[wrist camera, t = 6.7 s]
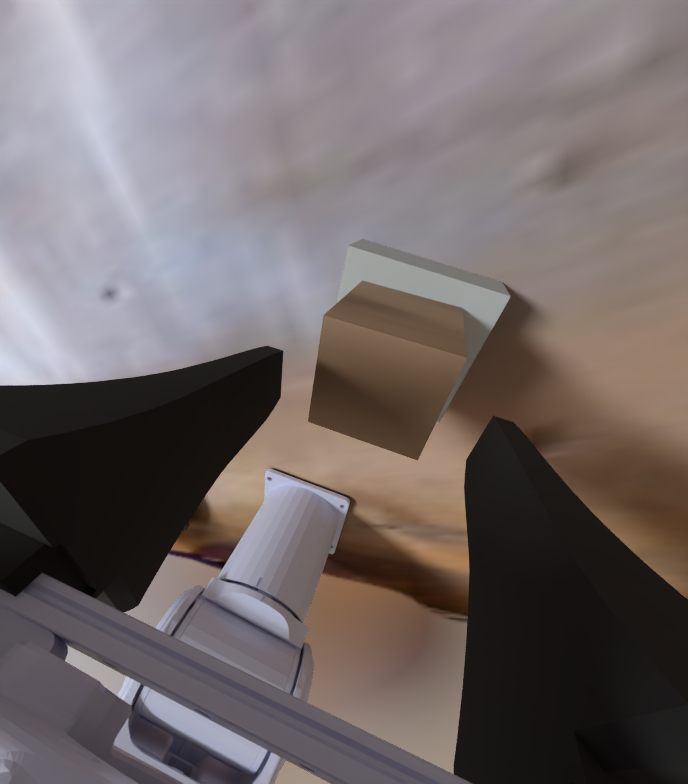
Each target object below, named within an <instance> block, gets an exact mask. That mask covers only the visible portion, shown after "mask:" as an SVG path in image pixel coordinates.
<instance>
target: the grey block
mask: <svg viewBox="0 0 688 784" xmlns="http://www.w3.org/2000/svg"><path fill="white" fill-rule="evenodd" d="M362 280H363V281H366V282H370V283H373V284H377V285H381V286H384V287H388V288H392V289H395V290H399V291H403V292H406V293H410V294H414V295H417V296H421V297H424V298H428V299H432V300H435V301H439V302H443V303H446V304H450V305H454V306H457V307H461V308H462V310H463V319H464V329H465V339H466V349H467V360H466V362H465V364H464V366H463V368H462V370H461V372H460V374H459V376H458V378H457V381H456V383H455V385H454V387H453V389H452V391H451V393H450V395H449V397H448V399H447V401H446V403H445V405H444V407H443V409H442V411H441V413H440V415H439V417H438V419H437V421H438V422H440V420H441V418H442V417H443V415H444V413H445V411H446V410H447V408H448V406H449V404H450V403H451V401H452V399H453V397H454V396H455V394H456V392H457V390H458V389H459V387H460V385H461V383H462V381H463V380H464V378H465V376H466V374H467V373H468V371H469V369H470V367H471V366H472V364H473V362H474V360H475V359H476V357H477V355H478V353H479V352H480V350H481V348H482V346H483V344H484V343H485V341H486V339H487V337H488V336H489V334H490V332H491V330H492V329H493V327H494V325H495V323H496V322H497V320H498V318H499V316H500V315H501V313H502V311H503V309H504V307H505V306H506V304H507V302H508V300H509V299H510V297H511V296H510V294H509V293H508V291H507V289H506V288H505V286H504V284H503V283H502V282H500V281H497V280H494V279H491V278H487V277H484V276H481V275H478V274H474V273H471V272H468V271H465V270H461V269H458V268H455V267H452V266H448V265H445V264H442V263H439V262H435V261H432V260H429V259H426V258H423V257H419V256H416V255H413V254H410V253H406V252H403V251H400V250H397V249H393V248H390V247H387V246H384V245H380V244H377V243H374V242H371V241H367V240H364V239H362V240H359V241H357V242H355V243H353V244H350V245H348V249H347V253H346V258H345V263H344V267H343V272H342V277H341V281H340V286H339V291H338V295H337V300H336V304H337V303H338V302H339V301H340V300H341V299H342V298H343V297H345V296H346V295H347V294H348V293H349V292H350V291H351V290H352V289H353V288H354V287H356V286H357V285H358V284H359V283H360V282H361V281H362Z"/></svg>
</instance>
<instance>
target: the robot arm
mask: <svg viewBox="0 0 688 784" xmlns="http://www.w3.org/2000/svg"><path fill="white" fill-rule="evenodd" d="M282 363H283V351H282V350H279V349H276V348H273V347H269V346H264V347H259V348H255V349H252V350H248V351H245V352H241V353H238V354H235V355H231V356H228V357H224V358H221V359H218V360H214V361H210V362H206V363H202V364H198V365H195V366H191V367H187V368H183V369H178V370H174V371H169V372H164V373H158V374H152V375H147V376H140V377H133V378H125V379H116V380H107V381H99V382H87V383H73V384H54V385H27V386H0V784H274V783H275V780H276V778H277V775H278V773H279V771H280V770H281V768H282V766H283V765H284V763H285V761H286V760H287V761H289V762H291V763H293V764H295V765H297V766H299V767H300V768H302V769H304V770H306V771H308V772H310V773H312V774H314V775H316V776H318V777H320V778H321V779H323V780H325V781H327V782H329V783H331V784H688V600H687V599H686V598H685V597H684V596H683V595H681V594H680V593H679V592H678V591H677V590H676V589H674V588H673V587H672V586H671V585H670V584H669V583H667V582H666V581H665V580H664V579H663V578H662V577H660V576H659V575H658V574H657V573H656V572H655V571H653V570H652V569H651V568H650V567H649V566H648V565H647V564H645V563H644V562H643V561H642V560H641V559H640V558H639V557H638V556H637V555H635V554H634V553H633V552H632V551H631V550H630V549H629V548H628V547H627V546H626V545H625V544H624V543H623V542H622V541H621V540H620V539H619V538H618V537H616V536H615V535H614V534H613V533H612V532H611V531H610V530H609V529H608V528H607V527H606V526H605V525H604V524H603V523H602V522H601V521H600V520H599V519H598V518H597V517H596V516H595V515H594V514H593V513H592V512H591V511H590V510H589V509H588V508H587V506H586V505H585V504H584V503H583V502H582V501H581V500H580V499H579V498H578V497H577V496H576V495H575V494H574V492H573V491H572V490H571V489H570V488H569V487H568V486H567V485H566V483H565V482H564V481H563V480H562V479H561V478H560V477H559V475H558V474H557V473H556V472H555V471H554V470H553V468H552V467H551V466H550V465H549V464H548V462H547V461H546V460H545V459H544V458H543V456H542V455H541V454H540V453H539V451H538V450H537V449H536V448H535V447H534V445H533V444H532V443H531V442H530V441H529V439H528V438H527V437H526V436H525V435H524V433H523V432H522V431H521V430H520V429H519V428H518V427H517V426H516V424H515V423H514V422H511V421H508V420H504V419H501V418H498V417H495V416H493V417H492V419H491V420H490V422H489V424H488V425H487V427H486V429H485V430H484V432H483V434H482V435H481V437H480V438H479V440H478V442H477V443H476V445H475V447H474V448H473V450H472V452H471V453H470V455H469V456H468V458H467V460H466V470H465V484H464V491H465V507H466V520H467V534H468V547H469V568H470V574H469V604H468V623H467V640H466V654H465V667H464V678H463V690H462V699H461V709H460V718H459V727H458V737H457V744H456V752H455V760H454V774H452V773H450V772H447V771H446V770H444V769H442V768H440V767H437V766H436V765H434V764H432V763H429V762H427V761H425V760H423V759H421V758H419V757H417V756H415V755H413V754H411V753H409V752H407V751H405V750H403V749H401V748H399V747H397V746H395V745H393V744H390V743H389V742H387V741H385V740H383V739H380V738H378V737H376V736H374V735H372V734H370V733H368V732H366V731H364V730H362V729H360V728H358V727H356V726H354V725H352V724H350V723H348V722H346V721H344V720H342V719H340V718H338V717H336V716H334V715H331V714H329V713H327V712H325V711H323V710H321V709H319V708H317V707H315V706H313V705H311V704H309V703H307V700H308V697H309V693H310V688H311V683H312V678H313V670H314V661H313V657H312V650H311V646H310V645H309V644H307V643H305V642H304V640H305V638H306V635H307V632H308V629H309V628H308V627H307V626H306V625H304V623H305V620H306V617H307V614H308V612H309V608H310V606H311V603H312V600H313V597H314V594H315V591H316V588H317V586H318V583H319V580H320V577H321V574H322V571H323V568H324V565H325V562H326V560H327V557H328V554H334V553H335V550H336V546H337V543H338V540H339V537H340V533H341V530H342V527H343V524H344V521H345V517H346V514H347V511H348V508H349V504H350V500H349V499H348V498H347V497H345V496H342V495H340V494H337V493H334V492H332V491H329V490H326V489H324V488H321V487H318V486H316V485H313V484H310V483H308V482H305V481H302V480H300V479H297V478H294V477H292V476H289V475H286V474H284V473H281V472H279V471H276V470H273V469H267V471H266V472H265V501H264V503H263V504H262V506H261V508H260V509H259V511H258V512H257V514H256V516H255V517H254V519H253V521H252V522H251V524H250V525H249V527H248V529H247V530H246V532H245V533H244V535H243V537H242V538H241V540H240V542H239V543H238V545H237V546H236V548H235V550H234V551H233V553H232V555H231V556H230V558H229V559H228V561H227V563H226V564H225V566H224V567H223V569H222V571H221V573H220V574H219V576H218V577H217V578H216V577H212V579H211V581H210V582H209V584H208V585H207V587H206V588H205V589H204V588H203V587H201V586H199V585H198V586H195V587H194V588H193V589H190V590H188V591H185V592H184V593H183V594H182V595H181V596H180V597H179V598H178V599H177V600H176V601H175V602H174V604H173V605H172V606H171V608H170V609H169V610H168V611H167V613H166V614H165V615H164V617H163V618H162V620H161V621H160V622H159V624H158V625H157V627H156V628H154V627H152V626H150V625H148V624H146V623H144V622H142V621H139V620H137V619H135V618H133V617H131V616H129V615H127V614H125V613H123V612H126V611H129V610H131V609H133V608H135V607H136V606H138V605H139V603H140V601H141V600H142V598H143V596H144V594H145V592H146V591H147V589H148V587H149V585H150V584H151V582H152V580H153V579H154V577H155V575H156V573H157V572H158V570H159V568H160V566H161V565H162V563H163V561H164V560H165V558H166V556H167V555H168V553H169V551H170V550H171V548H172V546H173V545H174V543H175V542H176V540H177V538H178V537H179V535H180V534H181V532H182V530H183V529H184V527H185V525H186V524H187V522H188V521H189V519H190V518H191V516H192V515H193V513H194V512H195V510H196V509H197V507H198V506H199V504H200V503H201V501H202V500H203V498H204V497H205V495H206V494H207V492H208V491H209V489H210V488H211V487H212V485H213V484H214V482H215V481H216V479H217V478H218V476H219V475H220V474H221V472H222V471H223V470H224V469H225V467H226V466H227V465H228V464H229V462H230V461H231V460H232V459H233V458H234V457H235V455H236V454H237V453H238V452H239V451H240V450H241V449H242V447H243V446H244V445H245V444H246V443H247V442H248V440H249V439H250V438H251V437H252V436H253V435H254V434H255V432H256V431H257V430H258V429H259V428H260V426H261V425H262V424H263V423H264V422H265V420H266V419H267V418H268V416H269V415H270V413H271V412H272V410H273V409H274V407H275V406H276V404H277V402H278V401H279V399H280V397H281V380H282ZM67 645H68V646H70V647H72V648H74V649H76V650H78V651H80V652H82V653H83V654H85V655H87V656H89V657H92V658H93V659H95V660H97V661H99V662H101V663H103V664H104V665H106V666H108V667H110V668H112V669H114V670H116V671H118V672H120V673H122V674H123V675H126V679H125V680H124V683H123V685H122V689H121V691H120V692H119V694H118V695H117V696H116V695H115V694H113V693H112V692H111V691H109V690H108V689H107V688H105V687H104V686H103V685H102V684H101V683H100V682H99V681H97V680H96V679H94V678H93V677H91V676H89V675H88V674H86V673H84V672H82V671H81V670H79V669H77V668H76V667H74V666H72V665H70V664H69V663H67V662H65V659H66V656H67V653H68V649H67Z"/></svg>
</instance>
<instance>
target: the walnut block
mask: <svg viewBox="0 0 688 784" xmlns="http://www.w3.org/2000/svg"><path fill="white" fill-rule="evenodd" d="M466 360H467V349H466V339H465V329H464V319H463V310H462V308H461V307H457V306H454V305H450V304H446V303H443V302H439V301H435V300H432V299H428V298H424V297H421V296H417V295H414V294H410V293H406V292H403V291H399V290H395V289H392V288H388V287H384V286H381V285H377V284H373V283H370V282H366V281H363V280H362V281H361V282H360V283H359V284H358V285H357V286H356V287H354V288H353V289H352V290H351V291H350V292H349V293H348V294H347V295H346V296H345V297H343V298H342V299H341V300H340V301H339V302H338V303H337V304H336V305H335V306H333V307H332V308H331V309H330V310H329V311H328V312H327V313H326V314H325V315H324V317H323V323H322V330H321V337H320V344H319V351H318V357H317V364H316V371H315V378H314V384H313V391H312V398H311V405H310V411H309V418H308V422H311V423H313V424H316V425H319V426H322V427H325V428H328V429H330V430H333V431H336V432H339V433H342V434H345V435H347V436H350V437H353V438H356V439H359V440H362V441H364V442H367V443H370V444H373V445H376V446H378V447H381V448H384V449H387V450H390V451H393V452H395V453H398V454H401V455H404V456H407V457H410V458H412V459H415V460H418V458H419V456H420V454H421V452H422V450H423V448H424V446H425V444H426V442H427V440H428V438H429V436H430V434H431V432H432V430H433V428H434V426H435V424H436V421H437V419H438V417H439V415H440V413H441V411H442V409H443V407H444V405H445V403H446V401H447V399H448V397H449V395H450V393H451V391H452V389H453V387H454V385H455V383H456V381H457V378H458V376H459V374H460V372H461V370H462V368H463V366H464V364H465V362H466Z"/></svg>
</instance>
